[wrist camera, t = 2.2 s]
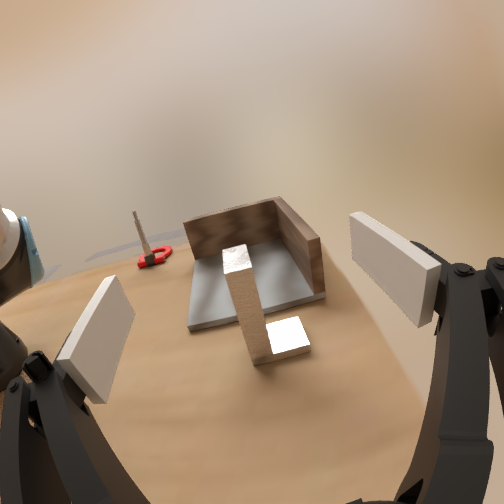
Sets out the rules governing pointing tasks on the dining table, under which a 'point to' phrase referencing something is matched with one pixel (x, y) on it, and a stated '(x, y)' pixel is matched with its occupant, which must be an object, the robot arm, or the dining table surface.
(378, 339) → the dining table surface
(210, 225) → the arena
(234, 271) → the bracket
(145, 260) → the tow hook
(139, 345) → the dining table surface
